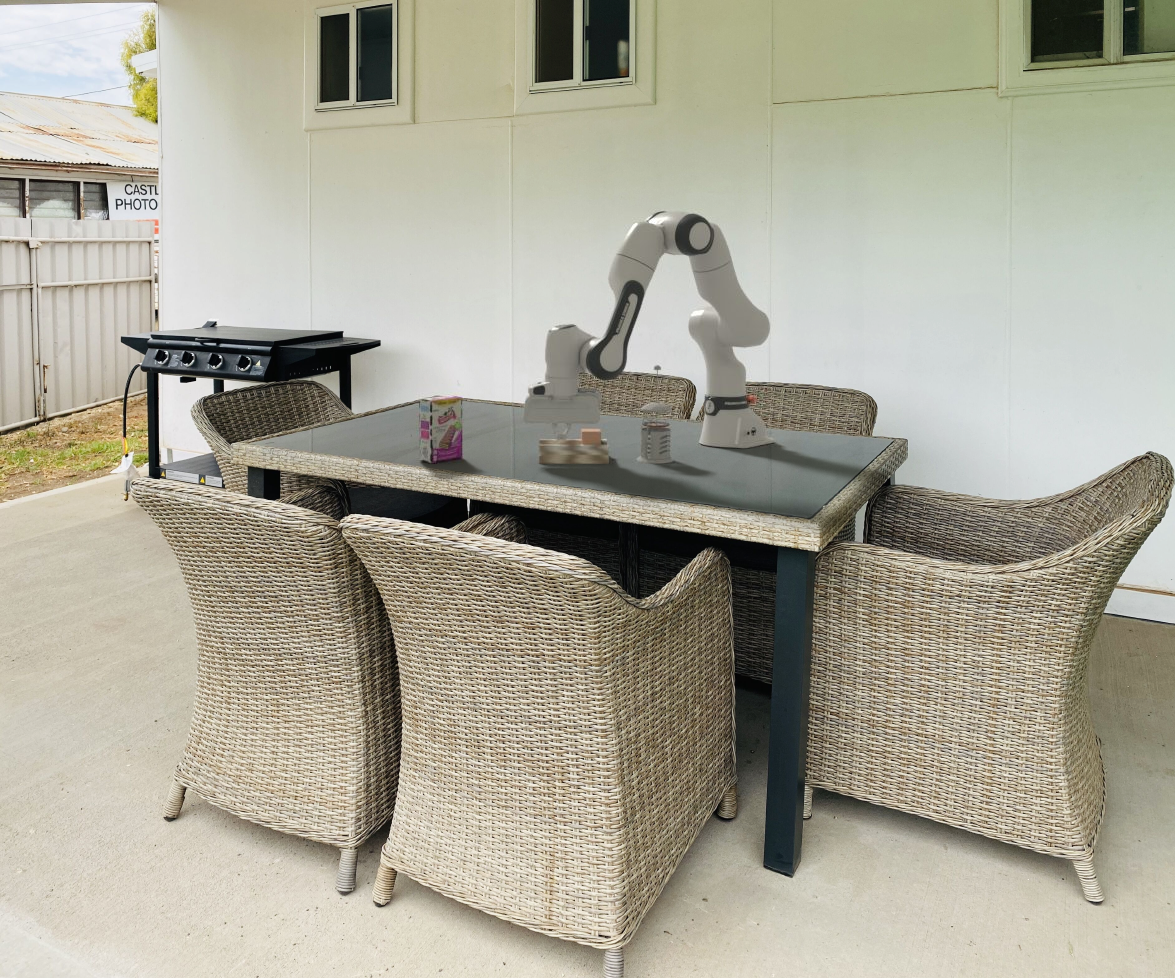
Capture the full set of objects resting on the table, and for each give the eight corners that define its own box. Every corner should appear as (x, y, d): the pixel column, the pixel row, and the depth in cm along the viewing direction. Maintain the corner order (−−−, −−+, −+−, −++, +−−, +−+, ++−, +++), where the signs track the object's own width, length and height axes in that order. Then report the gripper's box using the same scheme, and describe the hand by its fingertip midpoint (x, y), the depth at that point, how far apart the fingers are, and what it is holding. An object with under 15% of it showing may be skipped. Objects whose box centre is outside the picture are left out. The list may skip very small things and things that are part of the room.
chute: (605, 454, 264) (606, 438, 263) (608, 463, 252) (609, 446, 251) (539, 454, 263) (539, 438, 262) (539, 463, 252) (539, 446, 251)
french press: (679, 458, 260) (682, 364, 254) (660, 466, 250) (662, 368, 244) (647, 455, 264) (649, 362, 259) (626, 462, 255) (628, 366, 249)
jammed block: (599, 449, 261) (599, 428, 259) (600, 453, 255) (601, 432, 253) (580, 449, 260) (581, 428, 259) (581, 453, 254) (581, 432, 253)
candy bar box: (432, 464, 249) (430, 400, 246) (419, 461, 253) (417, 398, 249) (464, 458, 258) (463, 396, 254) (451, 455, 261) (449, 394, 257)
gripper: (601, 386, 257) (599, 438, 260) (523, 385, 256) (523, 437, 259) (602, 389, 250) (601, 442, 253) (522, 388, 249) (522, 441, 252)
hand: (561, 440), depth 256 cm, fingers closed
